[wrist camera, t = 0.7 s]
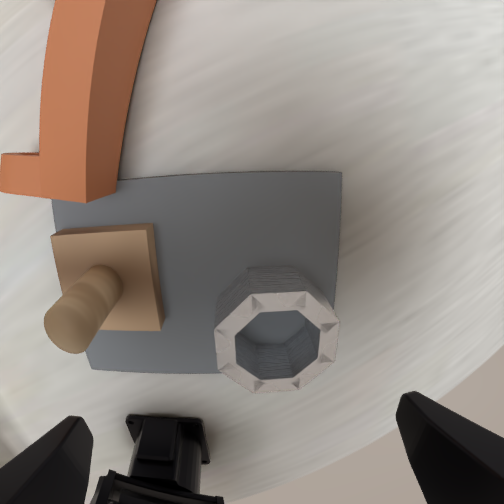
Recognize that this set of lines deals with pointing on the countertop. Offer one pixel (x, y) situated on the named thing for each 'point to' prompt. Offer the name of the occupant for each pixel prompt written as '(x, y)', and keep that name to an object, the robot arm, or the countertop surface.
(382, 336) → the countertop surface
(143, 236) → the tan stamp
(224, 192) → the mat
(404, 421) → the robot arm
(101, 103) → the crank
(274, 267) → the collar
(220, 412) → the countertop surface
